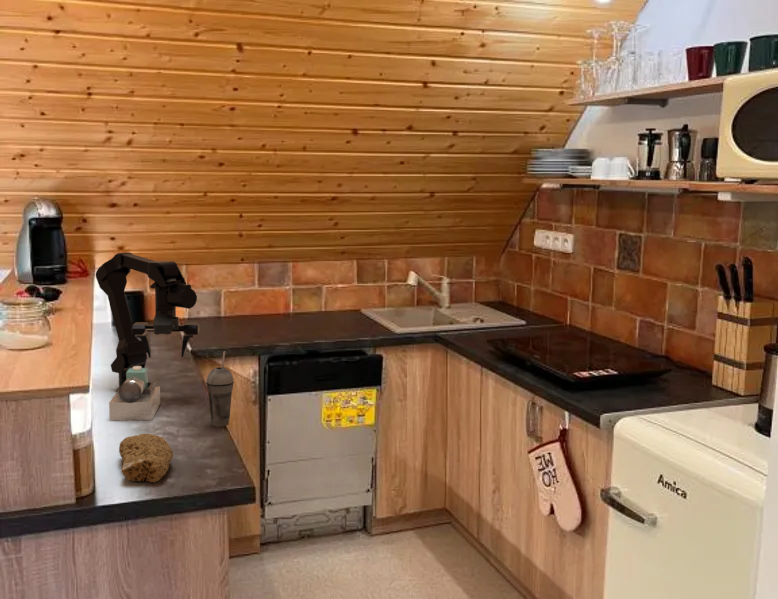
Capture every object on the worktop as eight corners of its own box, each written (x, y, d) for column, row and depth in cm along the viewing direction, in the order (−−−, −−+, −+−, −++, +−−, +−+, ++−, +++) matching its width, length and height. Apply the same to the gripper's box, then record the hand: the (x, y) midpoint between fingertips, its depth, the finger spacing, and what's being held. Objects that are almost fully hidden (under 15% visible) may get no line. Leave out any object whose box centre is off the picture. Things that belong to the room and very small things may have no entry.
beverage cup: (204, 421, 207) (203, 349, 204) (230, 419, 210) (230, 347, 207) (209, 429, 200) (208, 355, 198) (236, 426, 203) (236, 353, 200)
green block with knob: (130, 388, 219) (129, 364, 218) (148, 388, 220) (147, 364, 219) (126, 393, 214) (126, 369, 213) (145, 393, 215) (144, 368, 214)
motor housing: (121, 403, 221) (120, 367, 220) (160, 403, 223) (159, 367, 221) (109, 420, 205) (108, 382, 204) (151, 420, 207) (151, 381, 206)
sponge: (171, 489, 165) (182, 440, 183) (162, 458, 162) (174, 412, 180) (109, 500, 164) (127, 450, 182) (99, 470, 161) (118, 422, 179)
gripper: (126, 309, 213) (128, 364, 215) (195, 309, 215) (196, 363, 218) (134, 303, 223) (135, 355, 226) (199, 303, 226) (199, 354, 229)
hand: (166, 357), depth 224 cm, fingers open, 9 cm apart
